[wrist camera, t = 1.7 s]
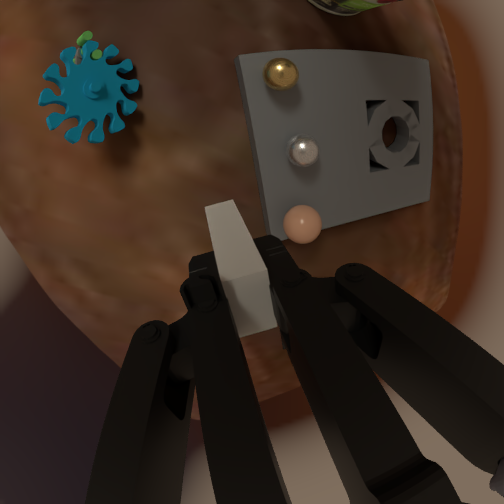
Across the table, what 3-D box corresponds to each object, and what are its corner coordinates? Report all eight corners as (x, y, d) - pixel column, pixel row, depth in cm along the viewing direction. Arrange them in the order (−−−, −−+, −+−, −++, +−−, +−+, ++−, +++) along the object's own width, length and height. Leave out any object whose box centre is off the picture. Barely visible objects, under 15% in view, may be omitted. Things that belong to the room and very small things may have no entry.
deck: (266, 232, 33) (272, 243, 31) (234, 59, 22) (238, 55, 20) (418, 194, 35) (429, 200, 33) (415, 59, 24) (428, 59, 22)
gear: (147, 132, 23) (47, 155, 15) (117, 141, 26) (33, 164, 18) (140, 30, 18) (44, 29, 11) (110, 52, 21) (27, 59, 14)
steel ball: (278, 134, 25) (290, 139, 22) (309, 129, 25) (323, 134, 22) (283, 165, 27) (295, 173, 24) (312, 159, 27) (327, 167, 24)
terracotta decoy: (275, 203, 29) (288, 219, 25) (310, 195, 29) (327, 209, 26) (280, 236, 31) (292, 255, 27) (313, 227, 31) (329, 245, 28)
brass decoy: (255, 61, 21) (265, 56, 18) (288, 58, 21) (301, 54, 18) (261, 93, 22) (271, 92, 20) (293, 89, 23) (307, 88, 20)
